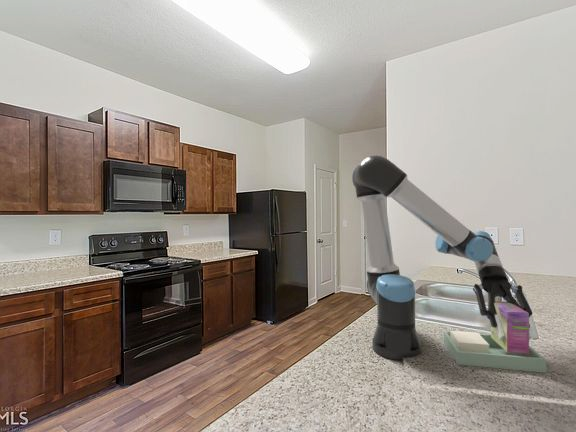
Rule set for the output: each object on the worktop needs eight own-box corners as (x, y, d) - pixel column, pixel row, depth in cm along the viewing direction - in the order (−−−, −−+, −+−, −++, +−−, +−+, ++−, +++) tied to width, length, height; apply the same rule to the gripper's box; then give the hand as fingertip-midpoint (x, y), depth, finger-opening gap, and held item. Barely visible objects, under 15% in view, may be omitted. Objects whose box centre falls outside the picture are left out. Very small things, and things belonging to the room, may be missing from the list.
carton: (458, 359, 89) (458, 342, 89) (450, 346, 98) (450, 330, 98) (489, 361, 87) (489, 344, 87) (478, 348, 96) (477, 332, 96)
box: (530, 354, 84) (529, 312, 84) (507, 353, 85) (506, 311, 85) (511, 339, 94) (510, 301, 94) (490, 337, 95) (489, 300, 95)
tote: (457, 367, 86) (457, 351, 86) (443, 344, 101) (443, 331, 101) (546, 376, 81) (546, 359, 81) (517, 350, 96) (517, 336, 96)
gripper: (518, 277, 102) (548, 346, 86) (457, 276, 107) (475, 341, 91) (526, 264, 97) (559, 335, 81) (462, 263, 101) (481, 330, 86)
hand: (515, 338), depth 86 cm, fingers closed on box, 6 cm apart
